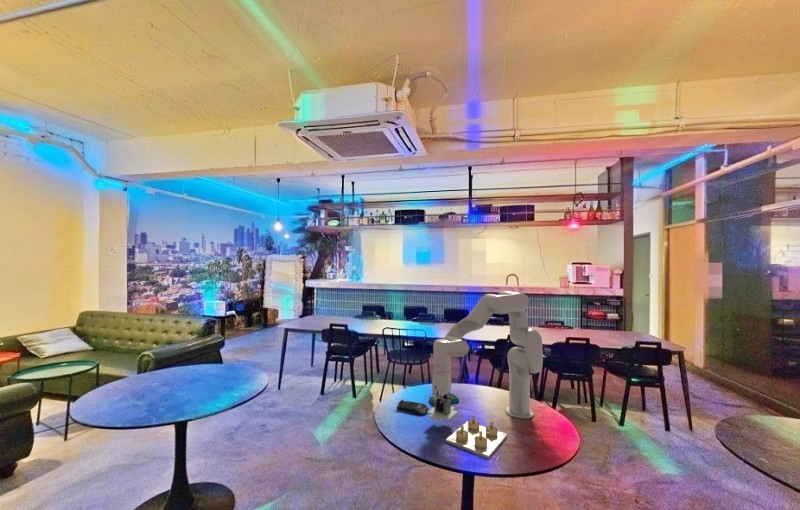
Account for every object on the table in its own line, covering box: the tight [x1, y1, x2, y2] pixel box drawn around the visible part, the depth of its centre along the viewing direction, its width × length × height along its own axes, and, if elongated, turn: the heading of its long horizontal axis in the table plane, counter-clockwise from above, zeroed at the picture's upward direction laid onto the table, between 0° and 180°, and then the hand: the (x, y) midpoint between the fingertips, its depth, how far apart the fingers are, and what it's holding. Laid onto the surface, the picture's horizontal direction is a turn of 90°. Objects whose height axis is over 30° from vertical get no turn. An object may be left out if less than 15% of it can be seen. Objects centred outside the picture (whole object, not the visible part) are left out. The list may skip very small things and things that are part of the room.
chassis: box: [445, 414, 508, 459], centre depth 135 cm, size 20×18×7 cm
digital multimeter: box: [428, 393, 460, 406], centre depth 172 cm, size 7×15×3 cm, turn 113°
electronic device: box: [396, 399, 430, 416], centre depth 162 cm, size 9×6×15 cm
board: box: [426, 397, 459, 422], centre depth 146 cm, size 14×11×6 cm
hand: (442, 409), depth 146 cm, fingers closed on board, 4 cm apart
